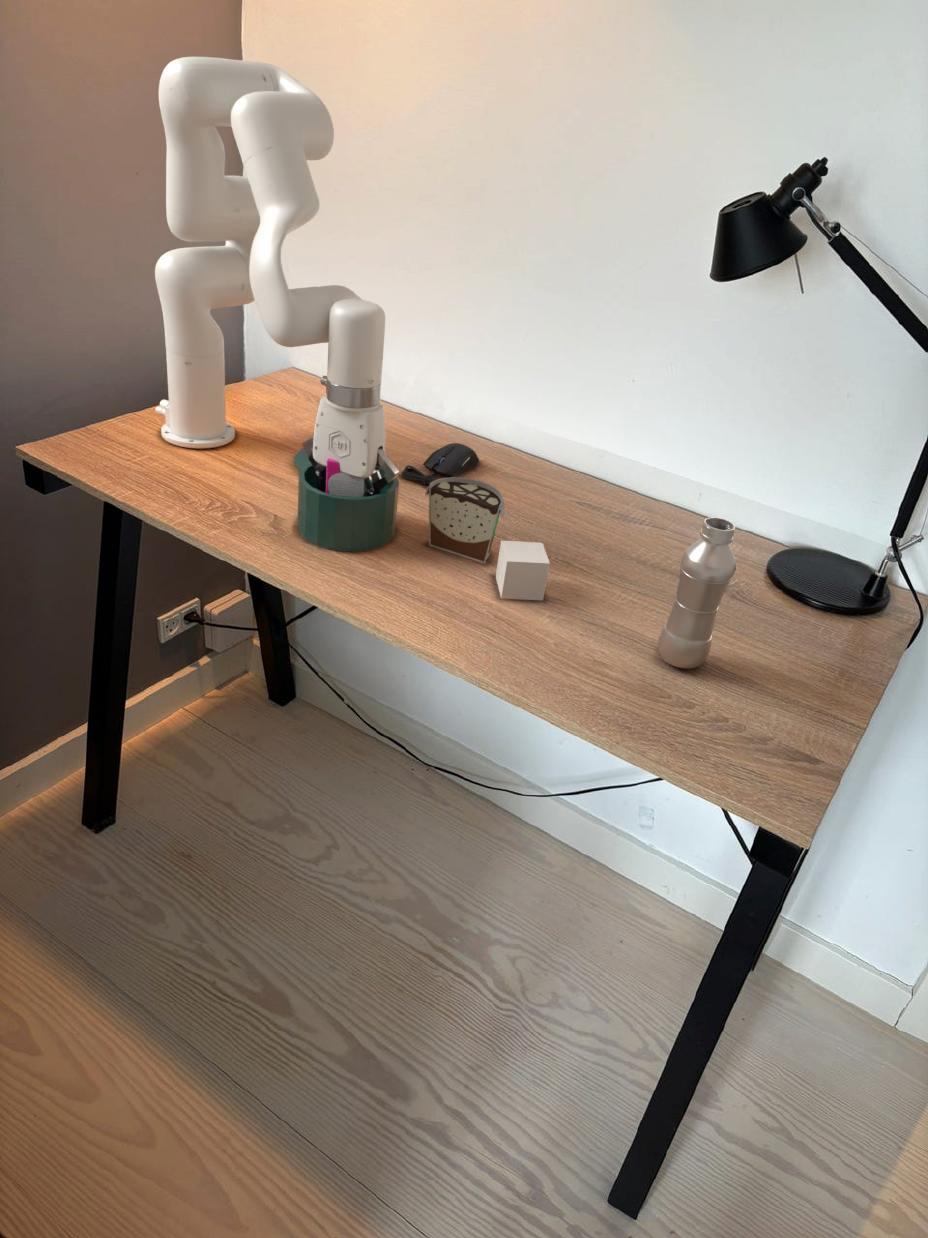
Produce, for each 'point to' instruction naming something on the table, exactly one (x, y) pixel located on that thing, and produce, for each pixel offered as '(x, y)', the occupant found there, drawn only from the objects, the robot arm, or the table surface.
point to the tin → (345, 515)
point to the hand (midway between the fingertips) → (347, 505)
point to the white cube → (522, 570)
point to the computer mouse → (444, 463)
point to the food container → (464, 516)
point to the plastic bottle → (698, 595)
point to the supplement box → (342, 481)
